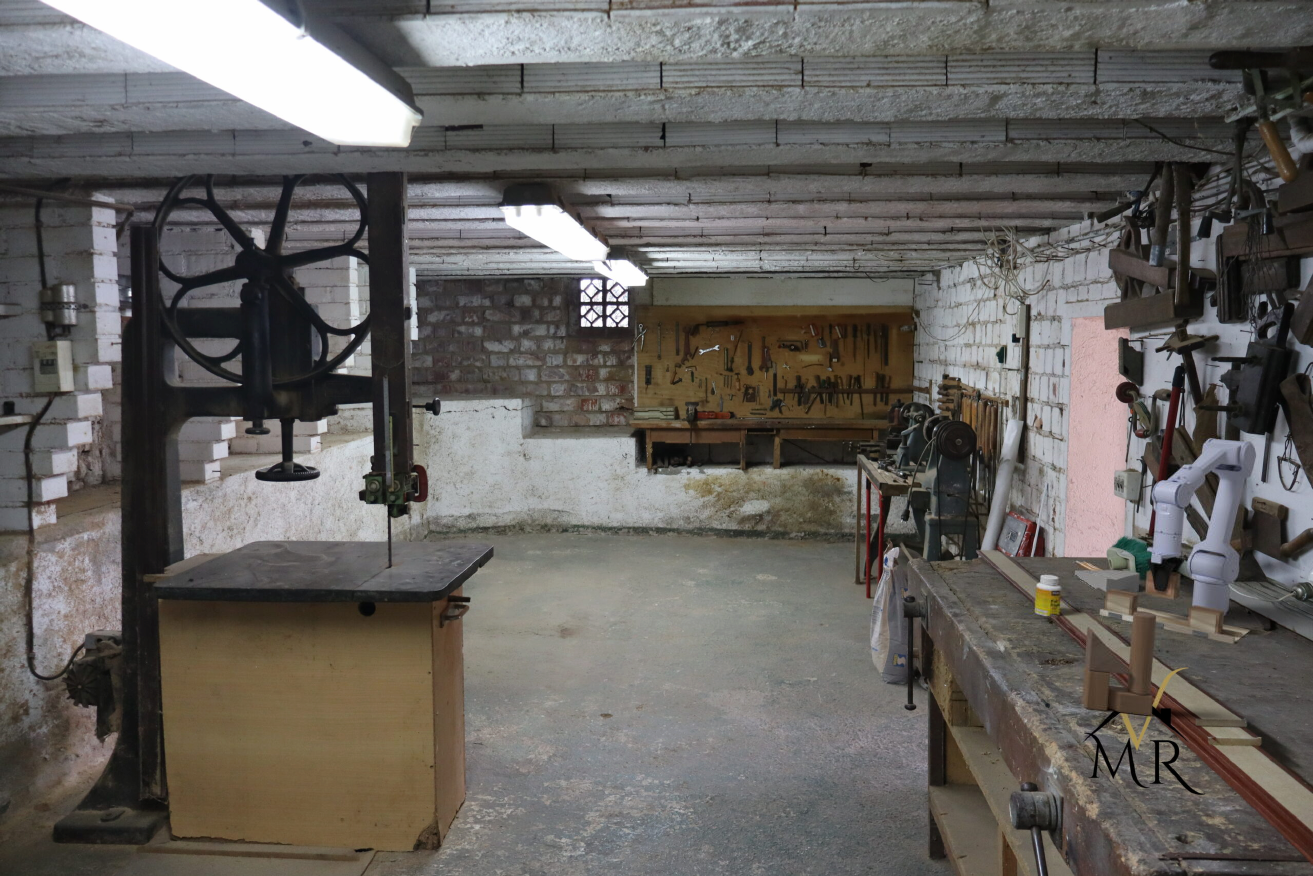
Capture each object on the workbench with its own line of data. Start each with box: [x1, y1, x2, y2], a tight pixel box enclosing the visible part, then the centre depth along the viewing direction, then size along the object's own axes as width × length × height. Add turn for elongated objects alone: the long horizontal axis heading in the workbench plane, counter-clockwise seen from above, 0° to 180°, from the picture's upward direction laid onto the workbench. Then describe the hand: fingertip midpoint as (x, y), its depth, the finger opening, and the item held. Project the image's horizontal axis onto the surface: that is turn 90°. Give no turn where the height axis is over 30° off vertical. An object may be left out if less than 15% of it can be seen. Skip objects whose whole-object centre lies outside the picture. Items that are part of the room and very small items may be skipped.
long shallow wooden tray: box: [1099, 606, 1251, 645], centre depth 212 cm, size 15×28×2 cm, turn 44°
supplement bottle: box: [1034, 574, 1062, 618], centre depth 216 cm, size 6×6×10 cm
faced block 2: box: [1187, 605, 1225, 634], centre depth 204 cm, size 4×6×6 cm
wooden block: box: [1081, 611, 1156, 716], centre depth 160 cm, size 4×11×18 cm, turn 76°
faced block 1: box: [1104, 589, 1139, 616], centre depth 216 cm, size 4×6×6 cm
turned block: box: [1144, 569, 1181, 600], centre depth 210 cm, size 4×6×6 cm
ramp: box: [1074, 568, 1141, 593], centre depth 251 cm, size 28×16×5 cm, turn 156°
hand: (1163, 589), depth 210 cm, fingers closed on turned block, 4 cm apart
